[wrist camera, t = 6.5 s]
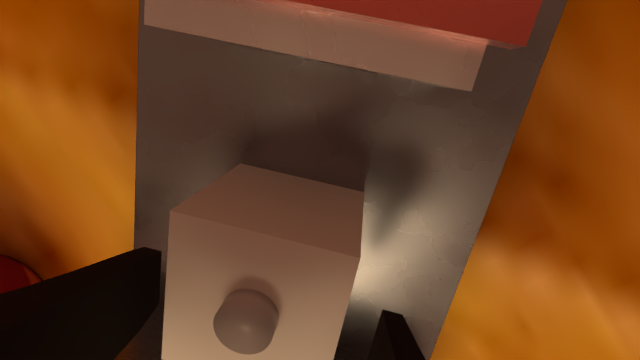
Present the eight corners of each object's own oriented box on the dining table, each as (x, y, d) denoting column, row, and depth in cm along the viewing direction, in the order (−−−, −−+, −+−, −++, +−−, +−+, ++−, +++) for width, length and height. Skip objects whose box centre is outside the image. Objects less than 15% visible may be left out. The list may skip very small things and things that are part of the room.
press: (567, -38, 11) (781, -163, 5) (412, 379, 17) (433, 538, 11) (160, -108, 12) (-30, -273, 6) (145, 306, 18) (37, 415, 12)
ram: (483, -9, 10) (569, -74, 6) (453, 89, 11) (507, 98, 7) (209, -59, 11) (98, -151, 7) (201, 37, 12) (100, 15, 8)
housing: (364, 192, 13) (359, 271, 8) (337, 298, 15) (318, 424, 9) (240, 163, 13) (155, 219, 8) (227, 269, 15) (148, 375, 10)
